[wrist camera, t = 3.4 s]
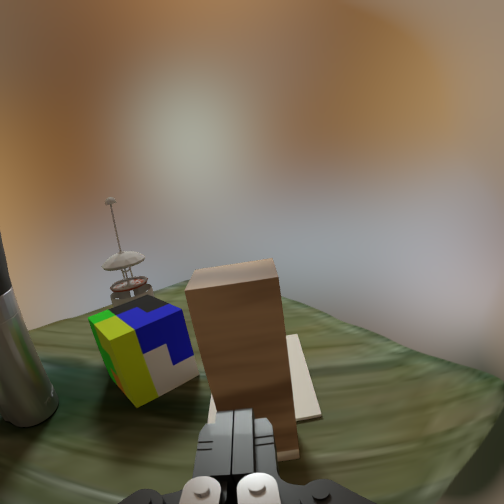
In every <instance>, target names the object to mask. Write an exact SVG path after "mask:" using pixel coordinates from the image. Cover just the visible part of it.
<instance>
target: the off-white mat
mask: <svg viewBox="0 0 504 504" xmlns="http://www.w3.org/2000/svg"><path fill="white" fill-rule="evenodd" d="M286 340H287V348H288V357H289V365H290V373H291V382H292V391H293V400H294V408H295V418H296V421H300V420H306V419H311V418H316V417H321V411H320V408H319V404H318V401H317V398H316V394H315V391H314V388H313V384H312V381H311V378H310V374H309V371H308V368H307V364H306V361H305V358H304V355H303V351H302V348H301V345H300V342H299V338H298V335H297V334H294V335H288V336H286ZM216 412H217V410H216V407H215V403H214V400H213V397H212V394H211V401H210V409H209V416H208V424H210V423H215V419H216Z"/></svg>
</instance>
